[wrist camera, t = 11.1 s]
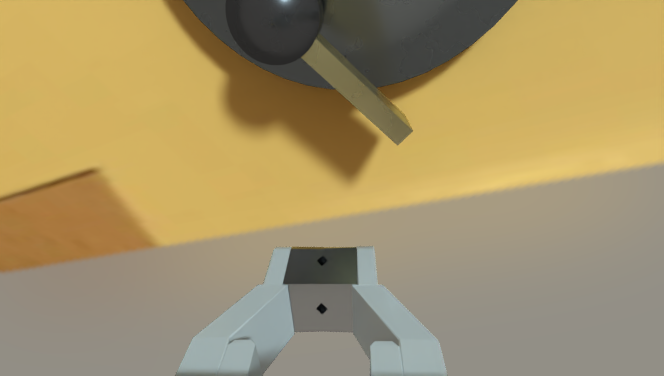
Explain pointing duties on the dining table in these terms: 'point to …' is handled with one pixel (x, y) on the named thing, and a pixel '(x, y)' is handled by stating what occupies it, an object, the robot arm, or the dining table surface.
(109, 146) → the dining table surface
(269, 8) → the knob
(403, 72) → the tribrach plate
